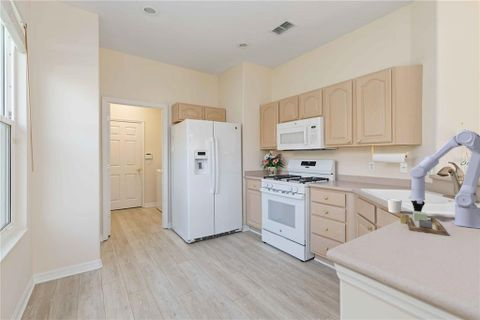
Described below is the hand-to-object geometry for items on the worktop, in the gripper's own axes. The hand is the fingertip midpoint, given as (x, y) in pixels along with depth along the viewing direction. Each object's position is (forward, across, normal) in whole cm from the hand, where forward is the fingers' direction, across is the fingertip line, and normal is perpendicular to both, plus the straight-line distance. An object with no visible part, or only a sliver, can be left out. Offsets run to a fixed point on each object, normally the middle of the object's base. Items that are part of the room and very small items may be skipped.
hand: (417, 214), depth 120 cm
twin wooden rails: (+1, +17, 0) cm, 17 cm away
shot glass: (+1, -5, -10) cm, 11 cm away
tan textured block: (+1, +17, -8) cm, 19 cm away
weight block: (+1, +26, 0) cm, 26 cm away
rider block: (+1, +8, 0) cm, 8 cm away
